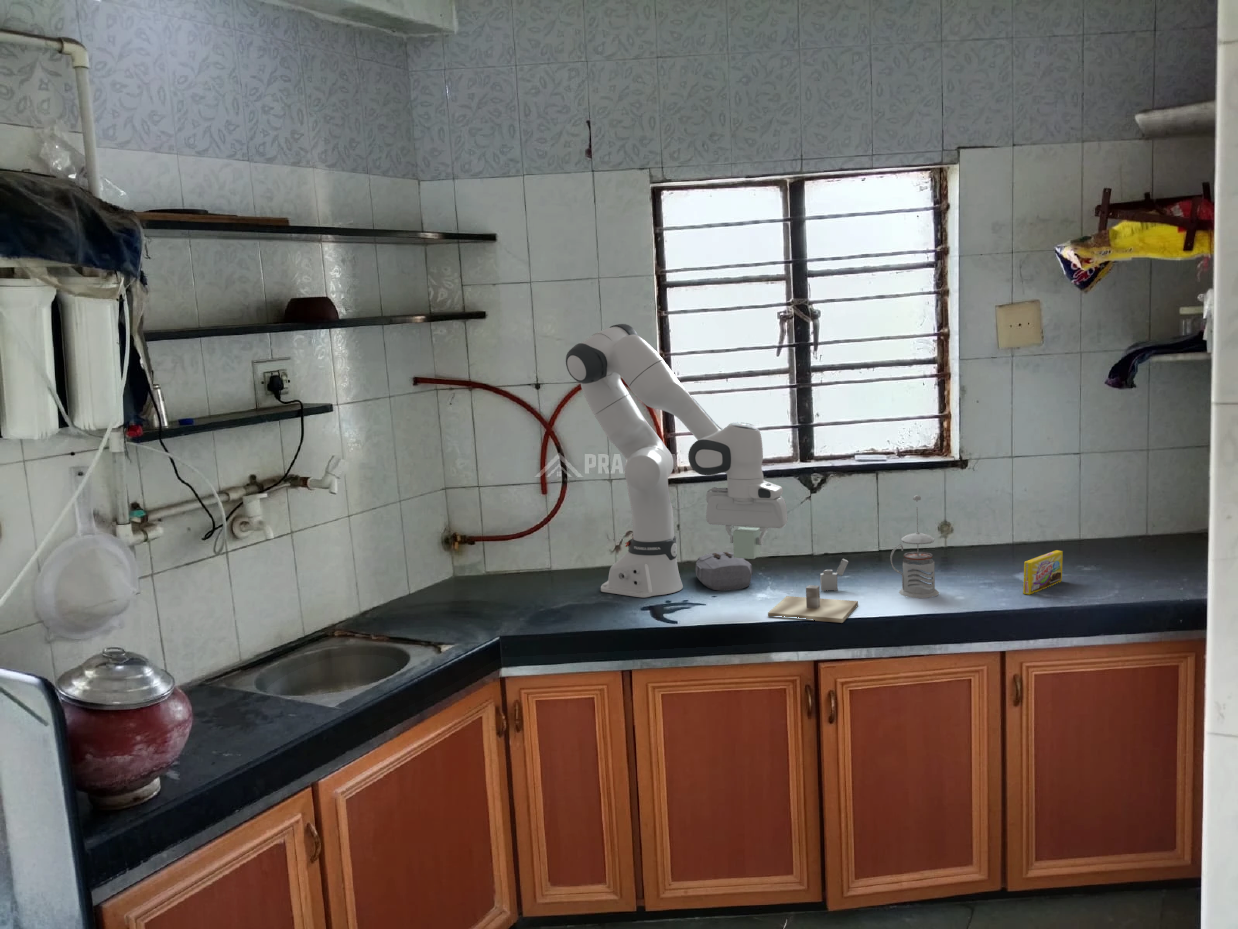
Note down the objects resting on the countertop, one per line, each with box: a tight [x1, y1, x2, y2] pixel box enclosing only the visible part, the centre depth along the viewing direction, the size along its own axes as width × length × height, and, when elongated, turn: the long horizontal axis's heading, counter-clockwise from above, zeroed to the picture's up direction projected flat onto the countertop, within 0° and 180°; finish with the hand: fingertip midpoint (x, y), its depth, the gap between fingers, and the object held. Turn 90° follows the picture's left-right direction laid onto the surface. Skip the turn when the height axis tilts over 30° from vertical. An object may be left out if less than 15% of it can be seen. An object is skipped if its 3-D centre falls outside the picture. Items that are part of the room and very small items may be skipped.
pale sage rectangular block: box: [732, 526, 761, 560], centre depth 245 cm, size 5×5×7 cm
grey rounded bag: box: [695, 551, 753, 591], centre depth 272 cm, size 15×8×20 cm
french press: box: [889, 494, 940, 599], centre depth 248 cm, size 10×12×25 cm
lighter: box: [819, 558, 849, 592], centre depth 257 cm, size 7×2×8 cm, turn 87°
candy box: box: [1022, 549, 1064, 596], centre depth 247 cm, size 16×2×8 cm, turn 129°
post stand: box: [767, 584, 859, 624], centre depth 239 cm, size 18×15×6 cm
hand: (746, 543), depth 245 cm, fingers closed on pale sage rectangular block, 5 cm apart
